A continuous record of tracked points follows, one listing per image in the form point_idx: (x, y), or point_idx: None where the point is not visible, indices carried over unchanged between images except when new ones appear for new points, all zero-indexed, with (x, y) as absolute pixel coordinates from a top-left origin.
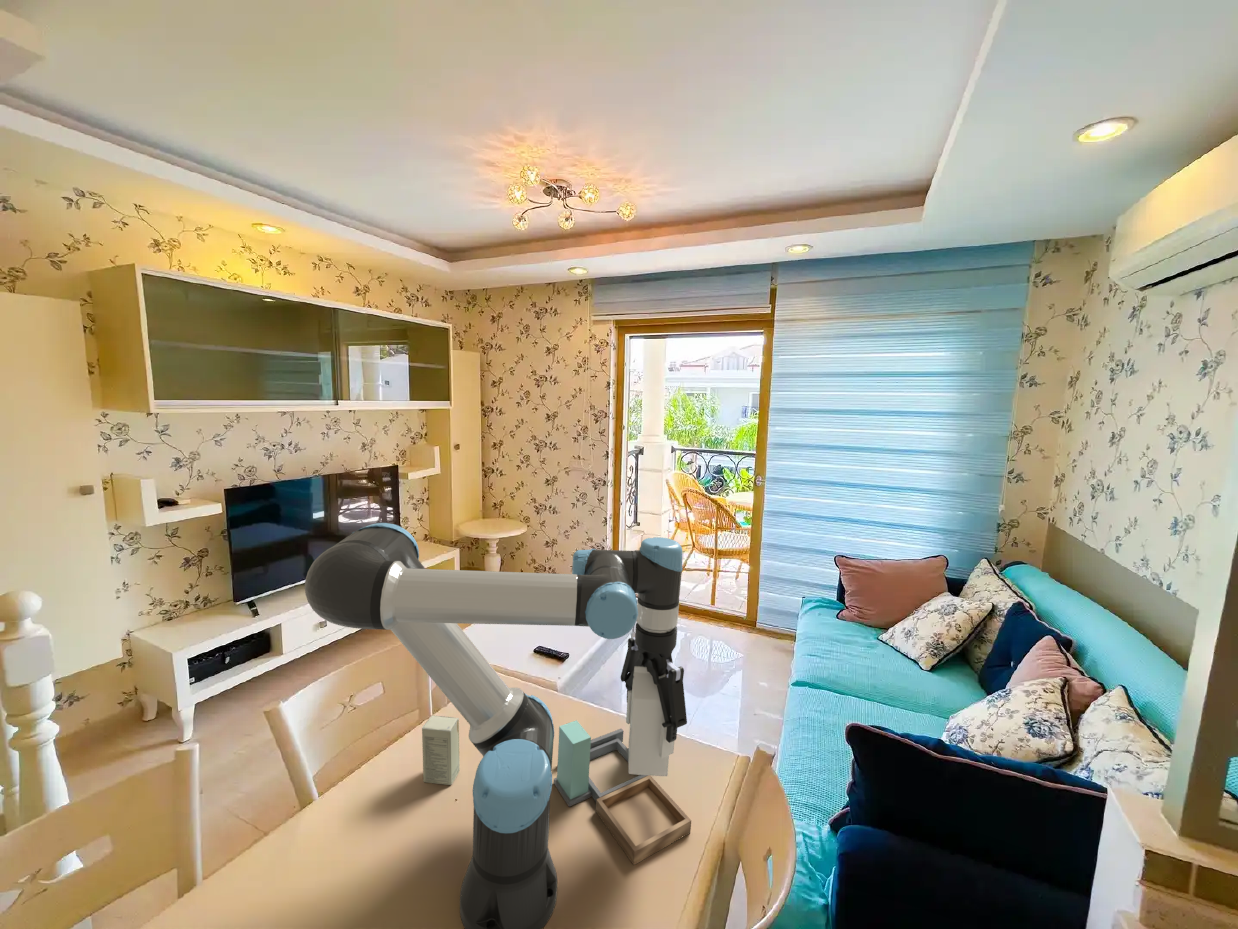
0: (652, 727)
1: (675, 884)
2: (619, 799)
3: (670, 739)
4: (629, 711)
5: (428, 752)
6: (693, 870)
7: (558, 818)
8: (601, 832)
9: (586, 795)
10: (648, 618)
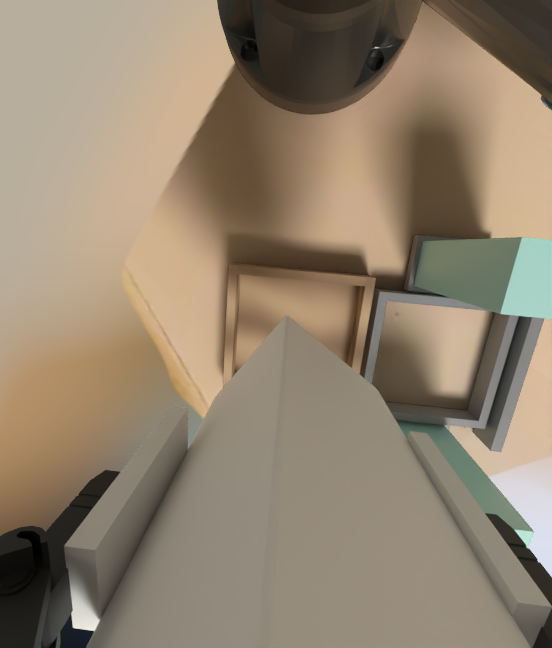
0: (198, 479)
1: (170, 298)
2: (354, 327)
3: (84, 488)
4: (438, 479)
5: None
6: (173, 339)
7: (405, 199)
8: (323, 255)
9: (409, 278)
10: None
